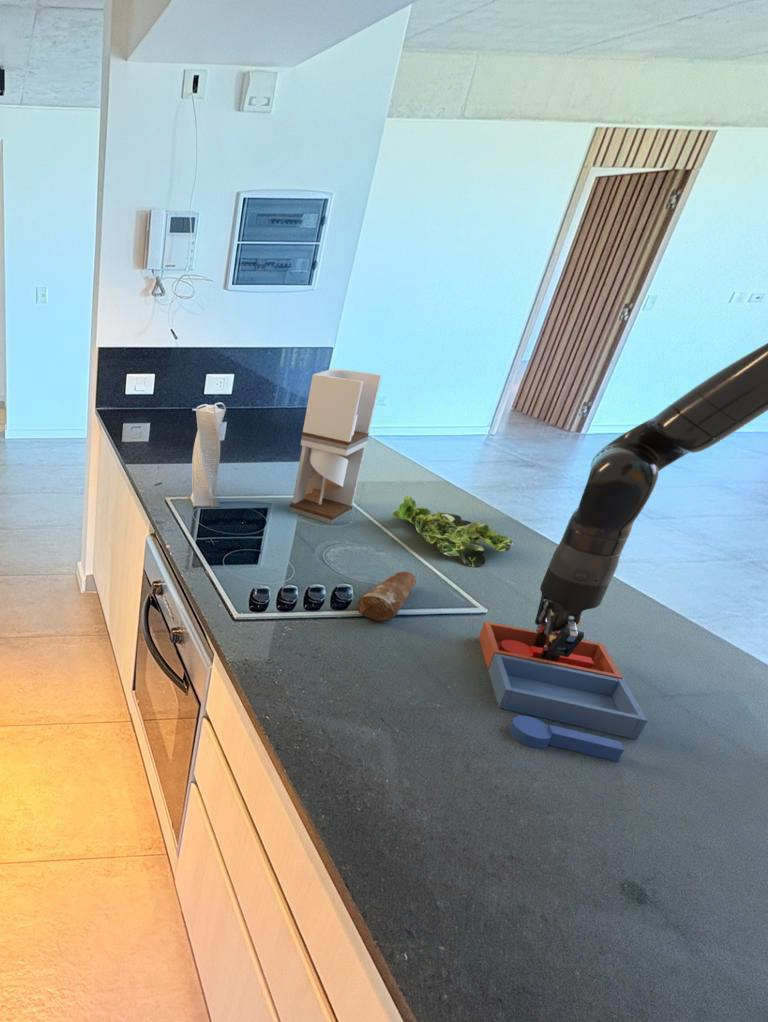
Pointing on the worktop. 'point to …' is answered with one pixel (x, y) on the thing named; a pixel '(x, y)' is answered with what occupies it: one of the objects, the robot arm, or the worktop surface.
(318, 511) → the white tiered shelf stand
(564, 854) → the worktop surface
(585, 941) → the worktop surface
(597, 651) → the red bin
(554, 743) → the blue spoon
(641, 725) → the blue bin
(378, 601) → the brown rounded cylinder
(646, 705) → the worktop surface
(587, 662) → the red spoon
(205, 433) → the skyscraper
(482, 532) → the lettuce
